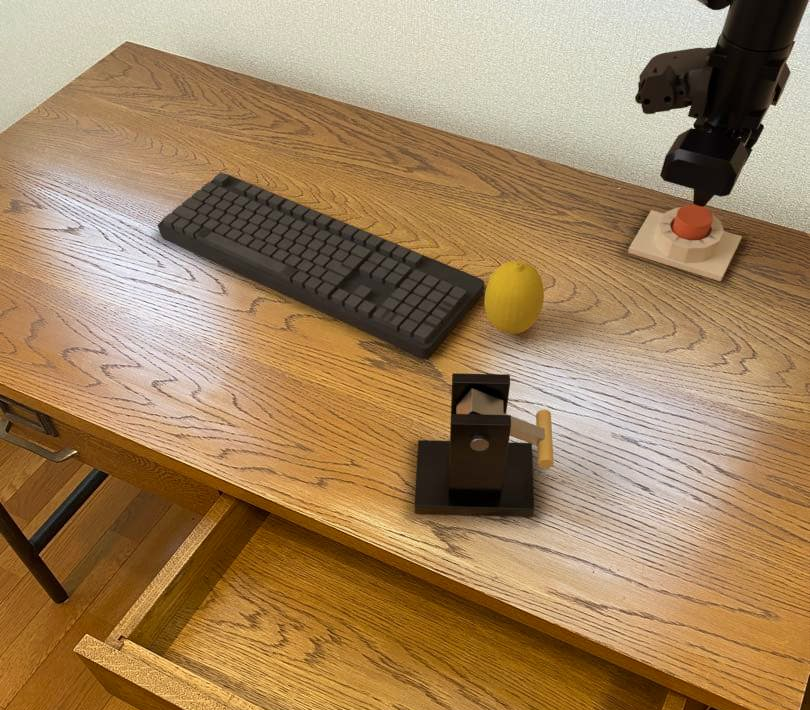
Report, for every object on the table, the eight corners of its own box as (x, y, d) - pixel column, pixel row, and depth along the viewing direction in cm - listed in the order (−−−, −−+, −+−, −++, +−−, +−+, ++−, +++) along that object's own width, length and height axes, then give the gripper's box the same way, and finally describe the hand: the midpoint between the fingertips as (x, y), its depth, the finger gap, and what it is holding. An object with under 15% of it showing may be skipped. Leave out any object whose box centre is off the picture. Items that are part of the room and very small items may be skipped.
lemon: (471, 337, 74) (476, 270, 67) (500, 303, 76) (506, 236, 69) (520, 358, 72) (530, 293, 65) (548, 324, 74) (560, 257, 67)
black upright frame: (530, 450, 66) (546, 364, 57) (532, 517, 63) (550, 437, 53) (418, 448, 67) (416, 362, 58) (414, 513, 63) (411, 433, 54)
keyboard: (485, 291, 77) (487, 275, 75) (426, 360, 72) (426, 345, 70) (225, 182, 87) (220, 166, 86) (158, 236, 83) (153, 220, 81)
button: (712, 225, 78) (717, 210, 76) (701, 245, 76) (707, 230, 75) (678, 215, 79) (683, 200, 77) (667, 235, 77) (672, 220, 76)
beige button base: (740, 241, 80) (748, 221, 77) (720, 281, 76) (729, 261, 74) (649, 215, 82) (655, 194, 80) (627, 252, 79) (633, 232, 77)
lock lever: (540, 424, 62) (558, 408, 60) (543, 474, 59) (561, 458, 57) (456, 392, 59) (472, 373, 57) (455, 442, 56) (471, 425, 54)
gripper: (697, -34, 68) (653, 134, 81) (624, 66, 59) (589, 234, 73) (823, -9, 65) (755, 161, 78) (764, 100, 57) (700, 269, 70)
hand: (699, 203), depth 75 cm, fingers closed
